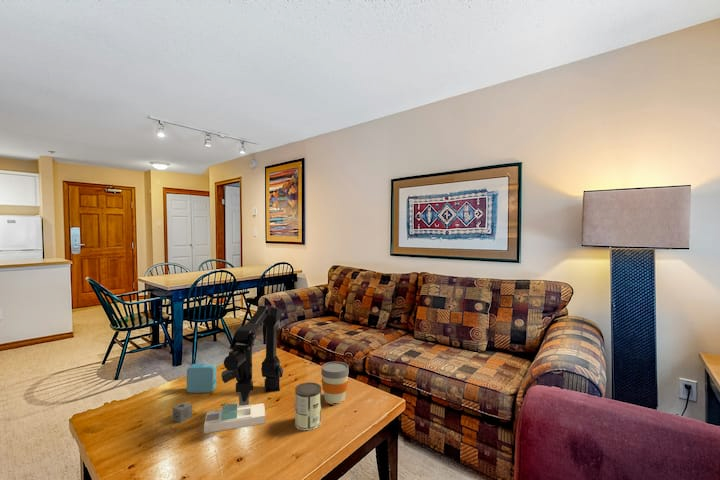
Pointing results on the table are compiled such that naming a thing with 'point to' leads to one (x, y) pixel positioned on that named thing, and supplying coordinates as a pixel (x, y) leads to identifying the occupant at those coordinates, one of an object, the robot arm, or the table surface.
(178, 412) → the dice cube
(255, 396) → the table surface
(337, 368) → the reusable coffee cup
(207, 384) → the data package
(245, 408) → the socket strip
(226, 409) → the block
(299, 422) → the coffee can
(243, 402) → the white rectangular block
